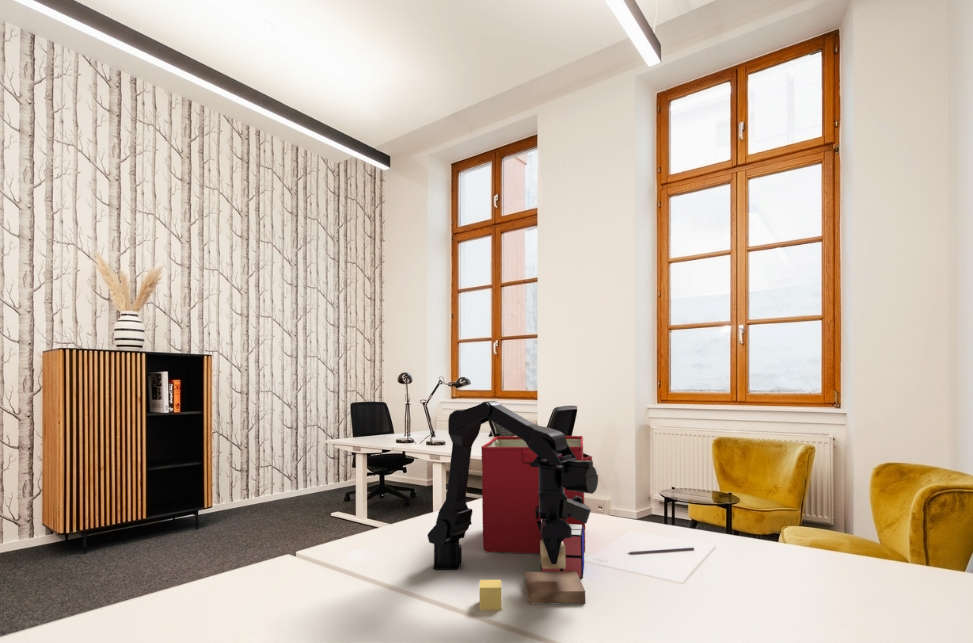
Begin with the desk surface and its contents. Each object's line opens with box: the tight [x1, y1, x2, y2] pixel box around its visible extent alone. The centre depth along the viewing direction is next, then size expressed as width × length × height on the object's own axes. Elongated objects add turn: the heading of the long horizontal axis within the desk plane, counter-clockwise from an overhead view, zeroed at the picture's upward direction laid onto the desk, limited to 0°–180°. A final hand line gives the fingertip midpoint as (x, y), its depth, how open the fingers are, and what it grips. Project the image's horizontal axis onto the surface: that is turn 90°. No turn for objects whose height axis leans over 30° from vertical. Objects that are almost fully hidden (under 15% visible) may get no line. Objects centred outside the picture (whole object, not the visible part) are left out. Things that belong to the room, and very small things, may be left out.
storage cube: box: [481, 435, 593, 555], centre depth 165 cm, size 32×28×29 cm
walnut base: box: [524, 571, 586, 605], centre depth 125 cm, size 12×12×2 cm
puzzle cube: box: [540, 524, 585, 579], centre depth 140 cm, size 10×10×10 cm
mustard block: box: [479, 579, 503, 611], centre depth 118 cm, size 4×4×4 cm
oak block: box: [539, 541, 566, 569], centre depth 126 cm, size 5×5×4 cm
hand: (552, 560), depth 125 cm, fingers closed on oak block, 5 cm apart
